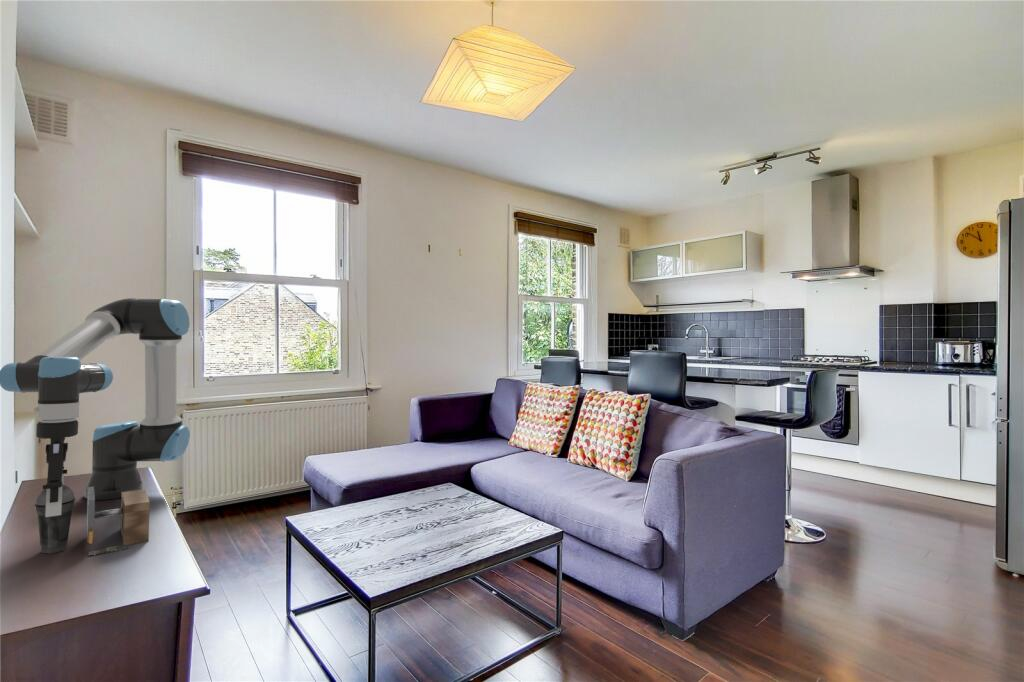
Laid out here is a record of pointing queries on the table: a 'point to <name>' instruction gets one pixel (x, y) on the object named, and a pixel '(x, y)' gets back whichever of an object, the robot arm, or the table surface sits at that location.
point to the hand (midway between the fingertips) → (54, 508)
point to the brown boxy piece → (132, 520)
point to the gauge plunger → (96, 514)
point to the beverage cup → (54, 522)
